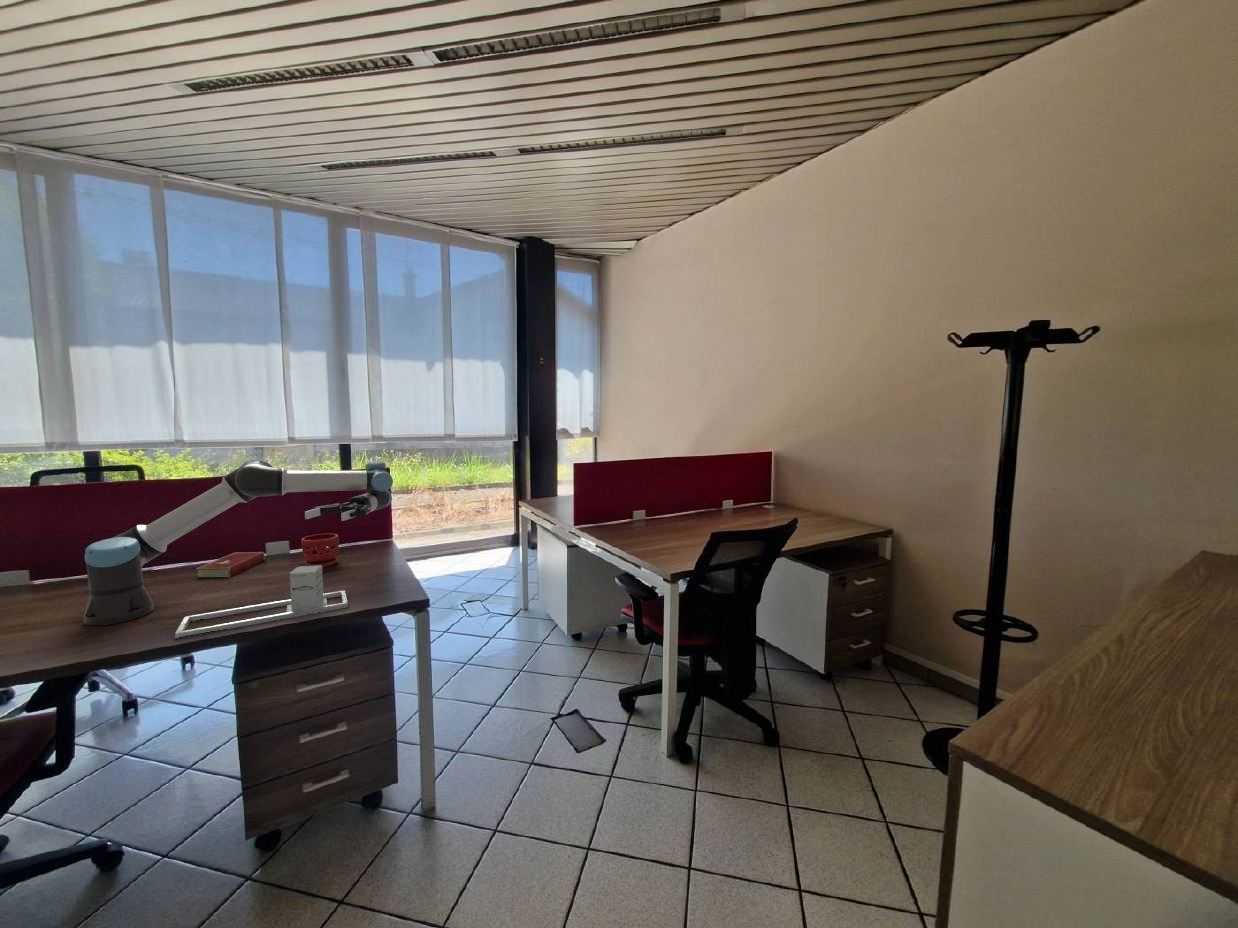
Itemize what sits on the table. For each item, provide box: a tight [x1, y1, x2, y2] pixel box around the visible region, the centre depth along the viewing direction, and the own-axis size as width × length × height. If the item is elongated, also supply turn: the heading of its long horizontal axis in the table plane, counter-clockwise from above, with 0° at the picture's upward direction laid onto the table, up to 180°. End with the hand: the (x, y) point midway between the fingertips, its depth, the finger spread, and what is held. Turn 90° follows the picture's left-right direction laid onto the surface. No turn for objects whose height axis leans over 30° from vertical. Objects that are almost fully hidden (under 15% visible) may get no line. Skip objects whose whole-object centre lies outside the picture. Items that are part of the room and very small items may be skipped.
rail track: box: [174, 589, 349, 639], centre depth 154 cm, size 42×13×2 cm, turn 122°
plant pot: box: [300, 533, 340, 568], centre depth 201 cm, size 13×13×12 cm
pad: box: [285, 598, 328, 613], centre depth 159 cm, size 11×10×1 cm
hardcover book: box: [195, 551, 266, 578], centre depth 196 cm, size 12×21×4 cm, turn 5°
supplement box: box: [289, 565, 324, 611], centre depth 158 cm, size 7×7×13 cm
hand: (324, 516), depth 171 cm, fingers open, 13 cm apart
